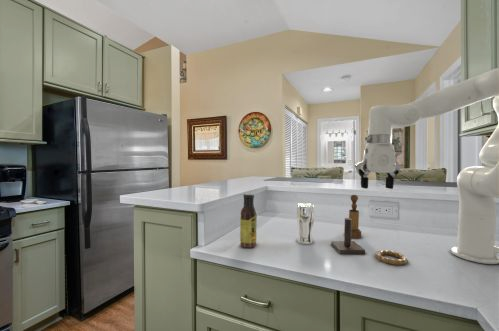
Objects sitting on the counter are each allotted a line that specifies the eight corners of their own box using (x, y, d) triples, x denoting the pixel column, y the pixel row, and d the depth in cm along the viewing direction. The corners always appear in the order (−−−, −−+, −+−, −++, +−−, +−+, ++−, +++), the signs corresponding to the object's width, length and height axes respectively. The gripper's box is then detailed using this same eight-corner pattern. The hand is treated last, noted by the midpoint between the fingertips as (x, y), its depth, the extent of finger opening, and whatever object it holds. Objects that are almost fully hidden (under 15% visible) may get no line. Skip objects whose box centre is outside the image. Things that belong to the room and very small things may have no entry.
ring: (395, 253, 88) (395, 249, 88) (413, 265, 79) (413, 260, 79) (370, 253, 88) (370, 249, 88) (385, 265, 78) (385, 260, 78)
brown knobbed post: (364, 238, 104) (365, 196, 103) (348, 238, 104) (349, 196, 103) (357, 233, 110) (358, 193, 109) (342, 233, 110) (344, 193, 110)
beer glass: (293, 242, 98) (294, 205, 97) (298, 237, 104) (299, 202, 103) (311, 246, 95) (312, 207, 94) (315, 240, 101) (316, 204, 100)
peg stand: (353, 244, 96) (354, 215, 96) (365, 254, 88) (366, 222, 87) (331, 244, 96) (331, 215, 96) (340, 254, 87) (341, 222, 87)
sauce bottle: (254, 249, 91) (255, 196, 90) (238, 247, 92) (238, 195, 91) (257, 243, 98) (258, 193, 97) (242, 241, 99) (242, 192, 98)
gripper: (363, 139, 83) (360, 189, 84) (409, 141, 85) (406, 190, 86) (351, 140, 91) (348, 186, 91) (394, 142, 93) (391, 187, 94)
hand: (376, 188), depth 89 cm, fingers open, 9 cm apart
